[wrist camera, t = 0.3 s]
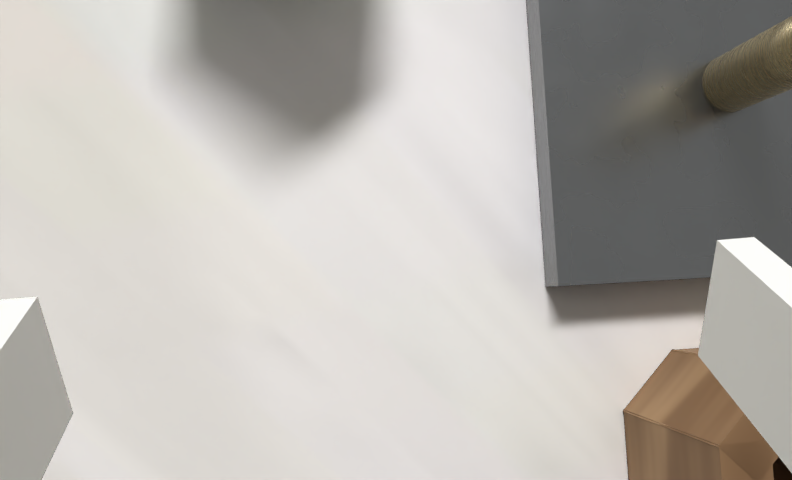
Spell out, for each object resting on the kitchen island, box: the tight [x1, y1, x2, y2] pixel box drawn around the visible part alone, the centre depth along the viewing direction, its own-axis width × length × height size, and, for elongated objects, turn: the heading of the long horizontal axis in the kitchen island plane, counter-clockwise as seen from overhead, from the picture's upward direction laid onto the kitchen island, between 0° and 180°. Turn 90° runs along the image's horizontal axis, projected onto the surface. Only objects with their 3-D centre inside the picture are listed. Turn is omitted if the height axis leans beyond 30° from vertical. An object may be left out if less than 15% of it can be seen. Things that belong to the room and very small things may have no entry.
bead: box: [623, 348, 792, 480], centre depth 27 cm, size 8×8×7 cm
